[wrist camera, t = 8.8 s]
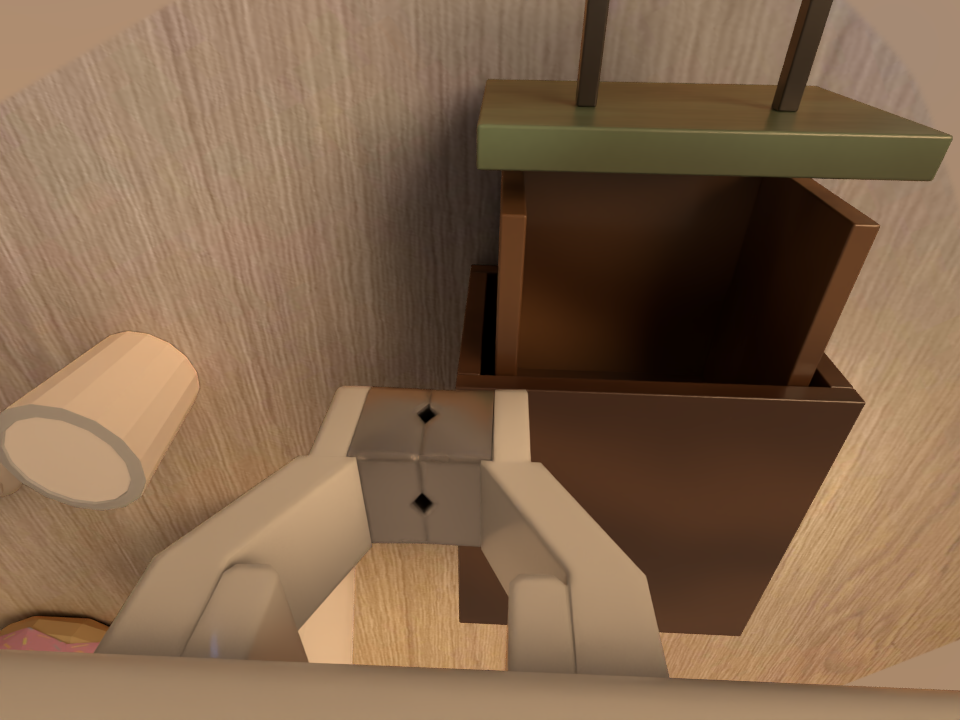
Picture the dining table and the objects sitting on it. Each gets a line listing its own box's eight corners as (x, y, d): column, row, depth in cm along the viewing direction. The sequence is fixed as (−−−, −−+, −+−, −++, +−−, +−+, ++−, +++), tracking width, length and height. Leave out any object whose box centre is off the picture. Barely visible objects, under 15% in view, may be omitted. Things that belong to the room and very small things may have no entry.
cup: (189, 517, 38) (74, 713, 28) (275, 426, 33) (171, 627, 23) (332, 588, 43) (276, 780, 32) (428, 518, 37) (398, 721, 27)
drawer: (489, -81, 18) (479, -111, 12) (871, -77, 18) (1072, -104, 11) (481, 366, 29) (473, 478, 22) (721, 375, 28) (783, 491, 22)
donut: (195, 637, 48) (166, 699, 44) (166, 704, 56) (139, 762, 52) (0, 582, 44) (-51, 644, 40) (-1, 662, 52) (-45, 721, 48)
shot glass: (226, 418, 33) (167, 512, 27) (117, 420, 33) (35, 512, 28) (185, 319, 29) (105, 404, 23) (61, 322, 29) (-47, 407, 24)
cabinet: (471, 264, 26) (455, 387, 19) (758, 272, 26) (866, 402, 18) (470, 476, 35) (459, 623, 27) (687, 485, 34) (740, 636, 27)
